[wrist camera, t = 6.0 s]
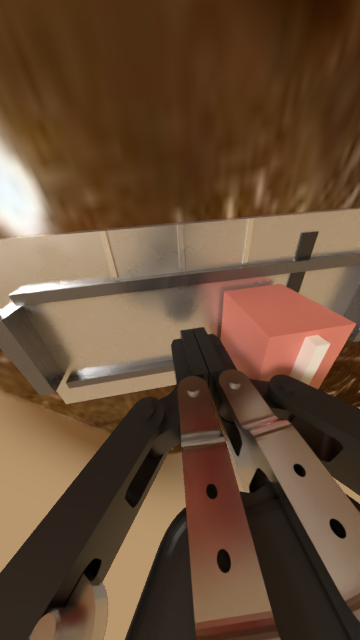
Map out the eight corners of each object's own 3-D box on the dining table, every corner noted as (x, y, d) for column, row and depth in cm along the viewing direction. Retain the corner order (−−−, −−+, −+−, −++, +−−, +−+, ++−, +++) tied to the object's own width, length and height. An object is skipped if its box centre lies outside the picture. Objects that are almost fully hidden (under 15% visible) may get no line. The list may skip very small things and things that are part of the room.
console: (381, 205, 12) (457, 202, 9) (316, 344, 19) (347, 368, 16) (-16, 238, 10) (-90, 250, 7) (74, 384, 17) (58, 422, 14)
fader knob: (281, 283, 12) (371, 331, 7) (266, 341, 14) (323, 403, 10) (224, 291, 11) (279, 346, 6) (219, 348, 14) (256, 417, 9)
